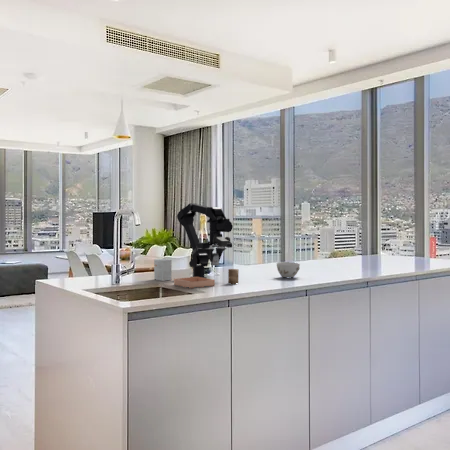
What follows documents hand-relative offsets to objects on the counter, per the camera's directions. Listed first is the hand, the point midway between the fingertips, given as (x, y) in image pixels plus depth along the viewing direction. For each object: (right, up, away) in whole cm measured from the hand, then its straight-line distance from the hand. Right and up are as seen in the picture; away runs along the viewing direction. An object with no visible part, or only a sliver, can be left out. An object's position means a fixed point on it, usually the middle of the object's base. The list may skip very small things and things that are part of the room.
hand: (214, 261), depth 266 cm
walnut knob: (+9, -10, -9) cm, 16 cm away
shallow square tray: (-9, -10, -17) cm, 22 cm away
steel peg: (0, -2, 0) cm, 2 cm away
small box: (-27, -10, +2) cm, 29 cm away
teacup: (+40, -10, +17) cm, 45 cm away
